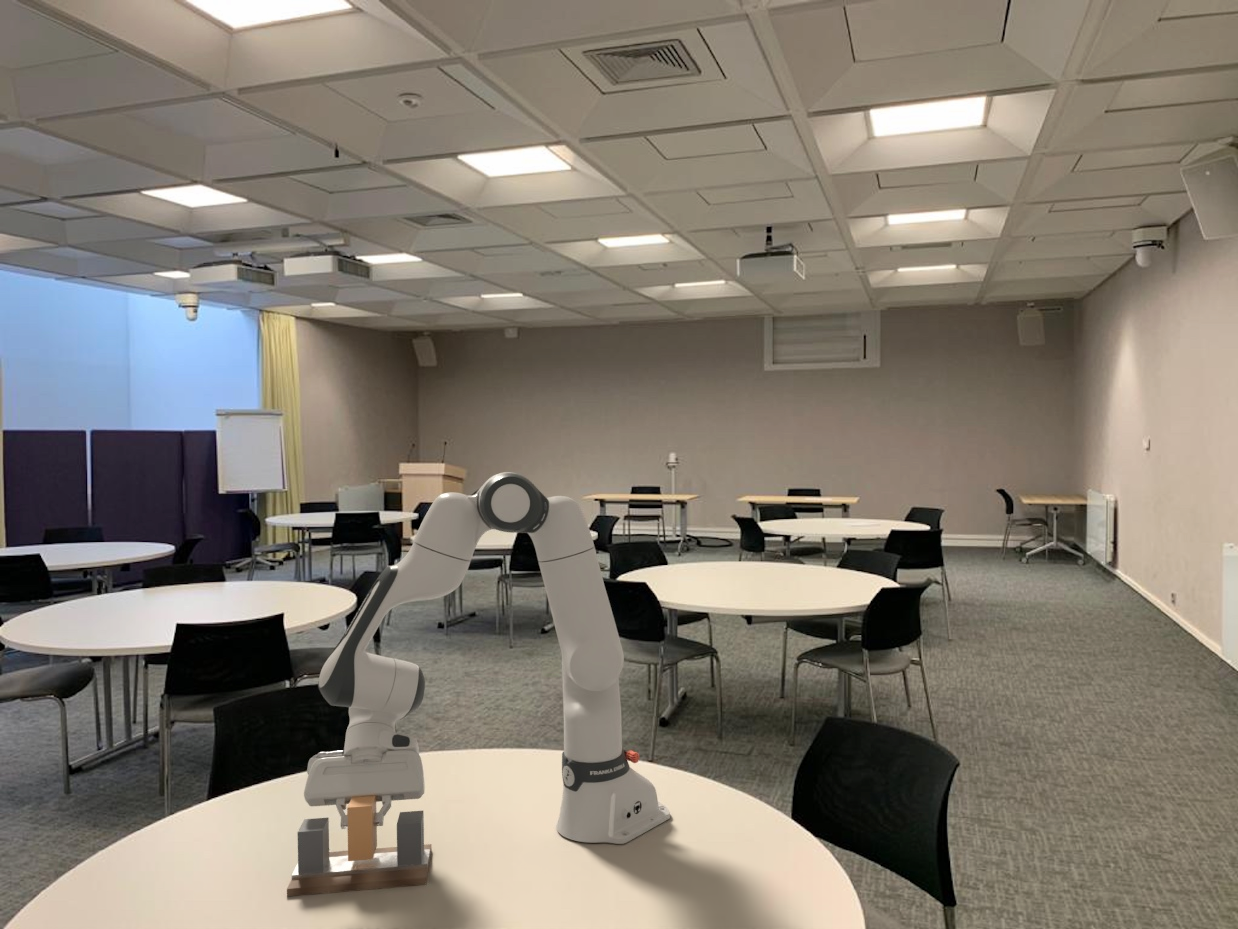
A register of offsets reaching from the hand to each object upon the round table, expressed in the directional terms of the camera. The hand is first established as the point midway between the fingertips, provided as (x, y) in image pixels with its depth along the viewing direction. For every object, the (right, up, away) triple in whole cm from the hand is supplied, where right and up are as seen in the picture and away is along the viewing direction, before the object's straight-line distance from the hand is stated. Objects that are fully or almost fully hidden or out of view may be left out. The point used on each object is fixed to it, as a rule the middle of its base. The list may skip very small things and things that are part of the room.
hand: (361, 826), depth 142 cm
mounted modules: (0, -6, +1) cm, 6 cm away
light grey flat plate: (0, -7, +1) cm, 7 cm away
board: (0, -8, +1) cm, 8 cm away
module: (0, -5, +1) cm, 5 cm away
